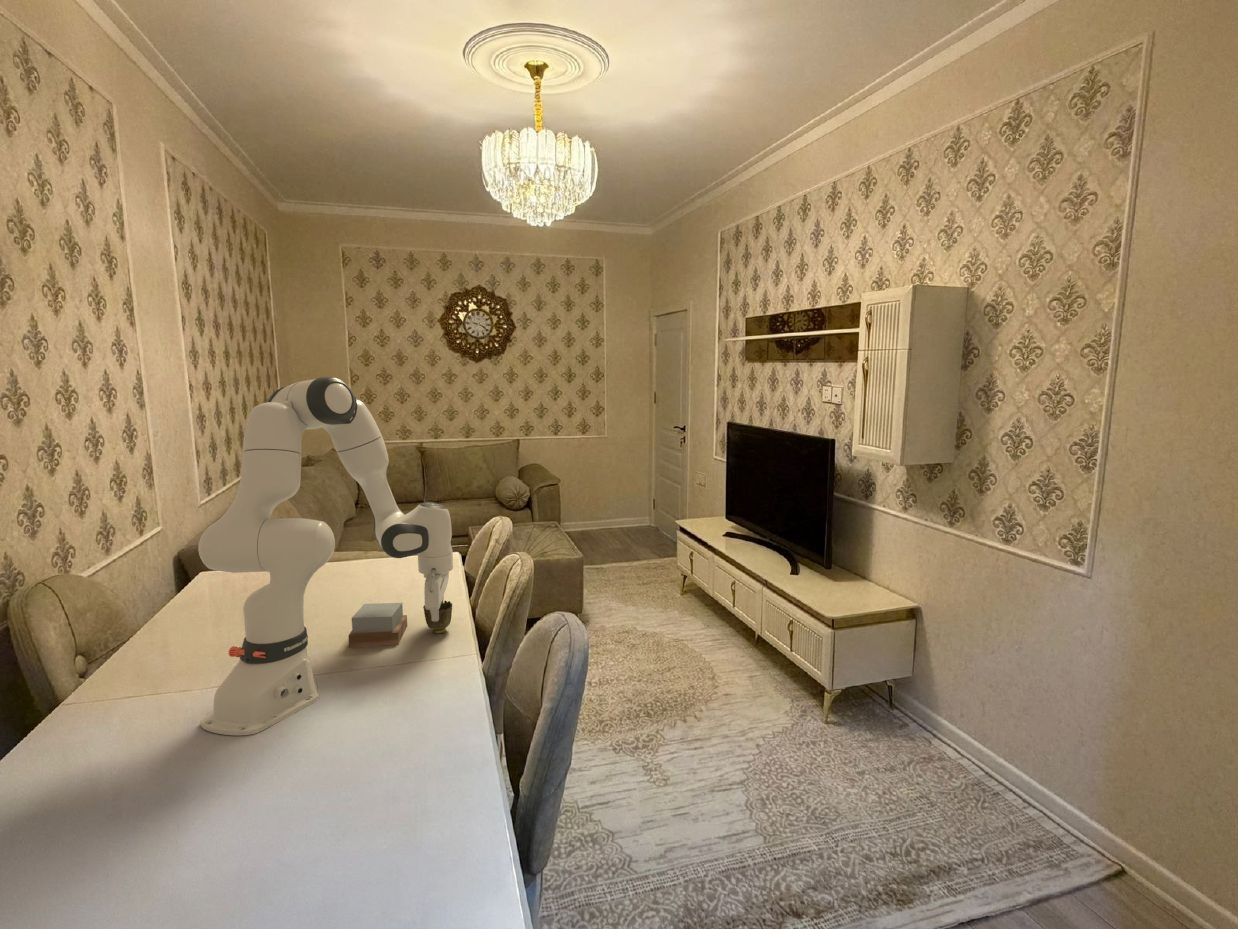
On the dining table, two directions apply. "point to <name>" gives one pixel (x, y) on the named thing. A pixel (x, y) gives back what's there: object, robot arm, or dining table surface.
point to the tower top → (377, 617)
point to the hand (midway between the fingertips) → (437, 613)
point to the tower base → (378, 636)
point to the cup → (444, 618)
